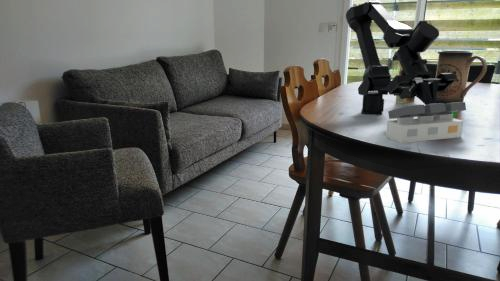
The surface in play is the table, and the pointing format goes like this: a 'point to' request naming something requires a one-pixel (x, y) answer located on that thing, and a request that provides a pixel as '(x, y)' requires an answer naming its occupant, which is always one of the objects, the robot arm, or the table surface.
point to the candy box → (403, 101)
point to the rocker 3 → (453, 107)
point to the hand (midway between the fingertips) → (433, 109)
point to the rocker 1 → (407, 111)
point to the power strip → (424, 128)
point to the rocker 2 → (433, 109)
